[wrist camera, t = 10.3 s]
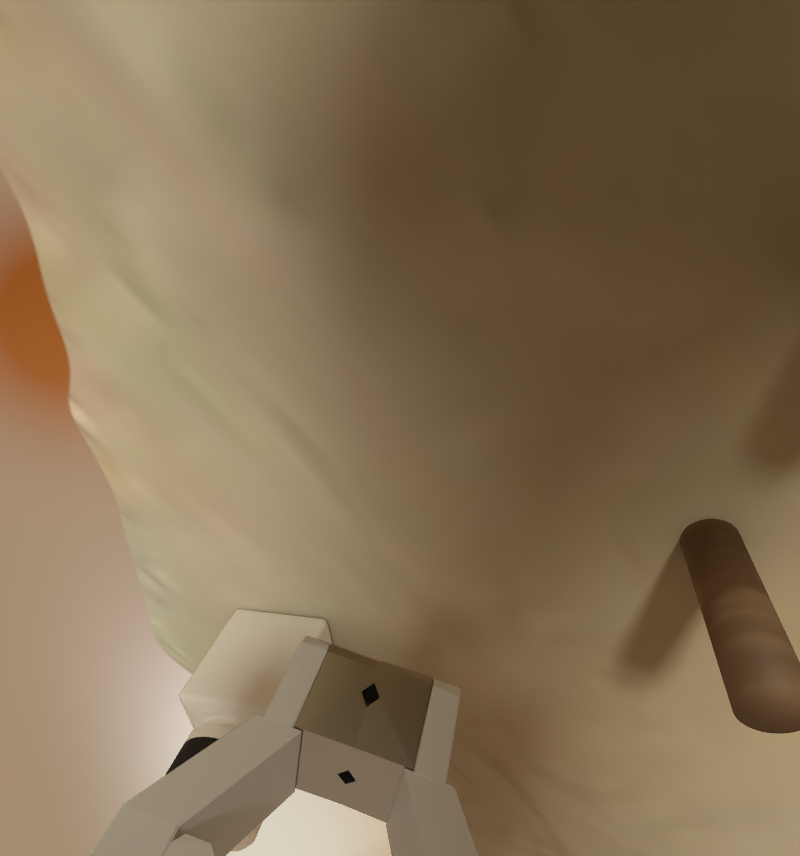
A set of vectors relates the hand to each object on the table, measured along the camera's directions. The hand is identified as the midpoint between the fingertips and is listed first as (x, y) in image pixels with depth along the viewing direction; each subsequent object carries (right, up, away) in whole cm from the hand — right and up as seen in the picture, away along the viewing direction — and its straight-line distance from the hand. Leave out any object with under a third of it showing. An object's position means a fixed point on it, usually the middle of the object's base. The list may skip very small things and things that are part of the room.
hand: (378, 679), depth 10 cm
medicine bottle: (-7, -11, +29) cm, 32 cm away
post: (+16, -1, +16) cm, 22 cm away
